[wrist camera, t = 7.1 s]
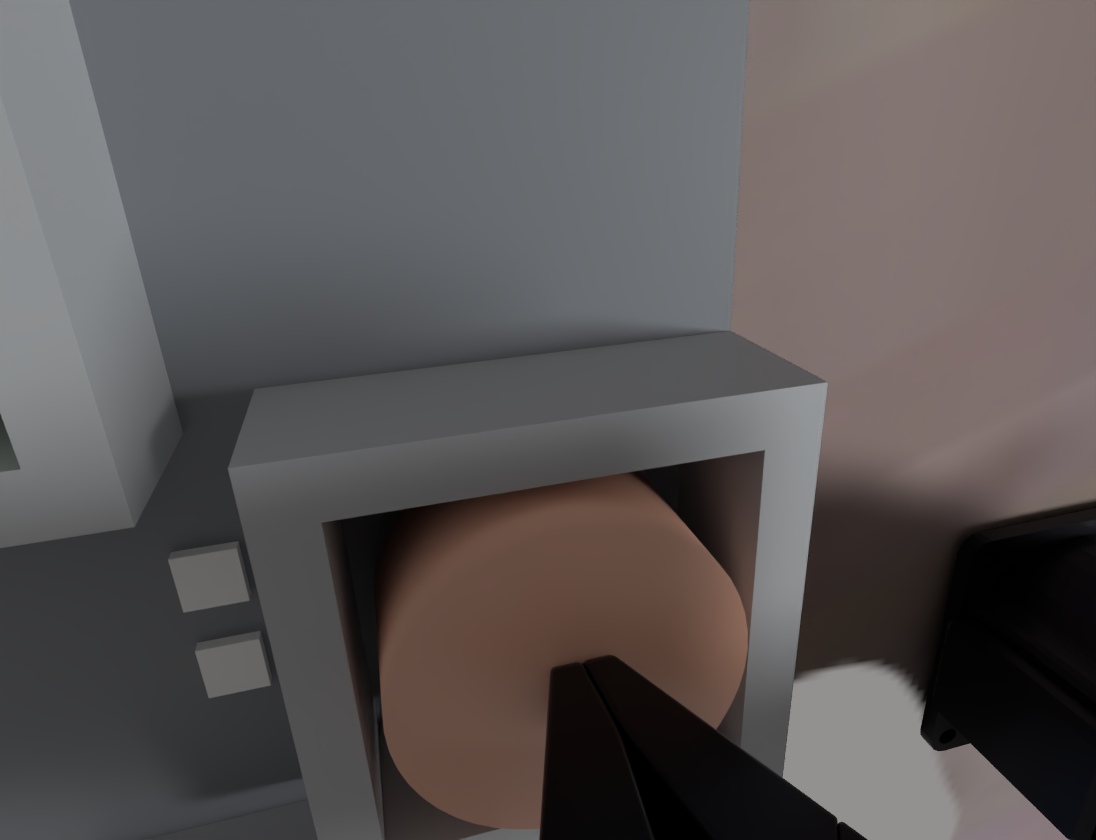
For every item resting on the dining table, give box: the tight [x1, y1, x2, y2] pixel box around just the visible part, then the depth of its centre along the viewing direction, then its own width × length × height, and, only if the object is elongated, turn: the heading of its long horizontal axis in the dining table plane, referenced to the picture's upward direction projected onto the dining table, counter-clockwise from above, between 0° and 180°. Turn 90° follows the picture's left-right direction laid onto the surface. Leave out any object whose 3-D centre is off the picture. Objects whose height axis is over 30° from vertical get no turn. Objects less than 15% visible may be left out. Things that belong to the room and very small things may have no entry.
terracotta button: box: [374, 471, 748, 830], centre depth 10 cm, size 5×5×2 cm
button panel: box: [0, 0, 828, 840], centre depth 11 cm, size 15×21×4 cm
